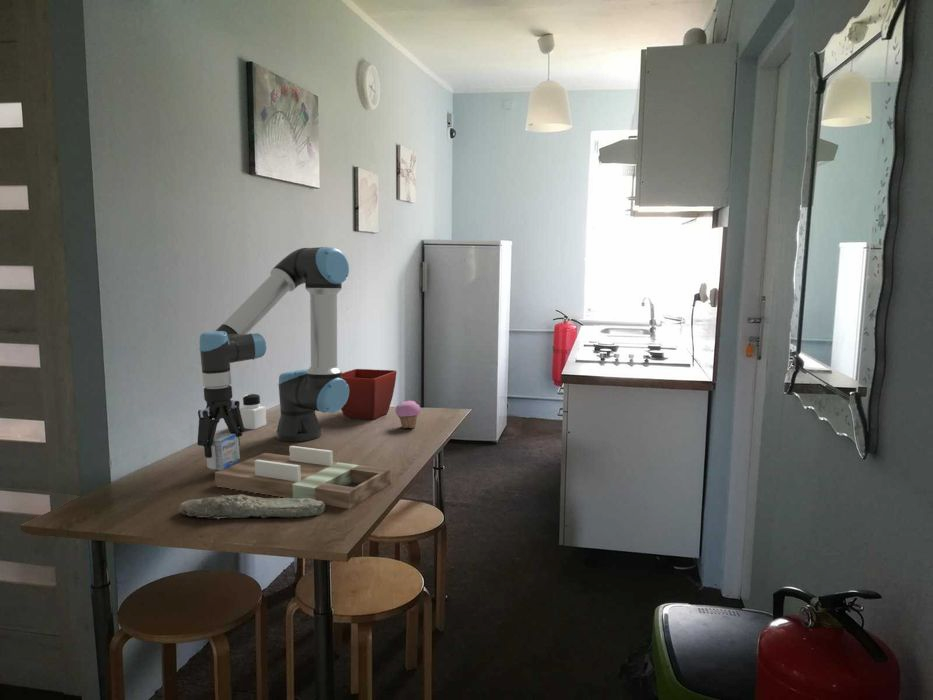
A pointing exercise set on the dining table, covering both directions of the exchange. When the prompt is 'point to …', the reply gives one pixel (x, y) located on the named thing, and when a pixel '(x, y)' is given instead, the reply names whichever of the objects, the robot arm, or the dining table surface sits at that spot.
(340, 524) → the dining table surface
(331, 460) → the channel walls
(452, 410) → the dining table surface
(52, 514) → the dining table surface
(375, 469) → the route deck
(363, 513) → the dining table surface
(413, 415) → the cupcake
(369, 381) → the plant pot
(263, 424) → the medicine bottle
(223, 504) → the elongated rock
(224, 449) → the medicine box
